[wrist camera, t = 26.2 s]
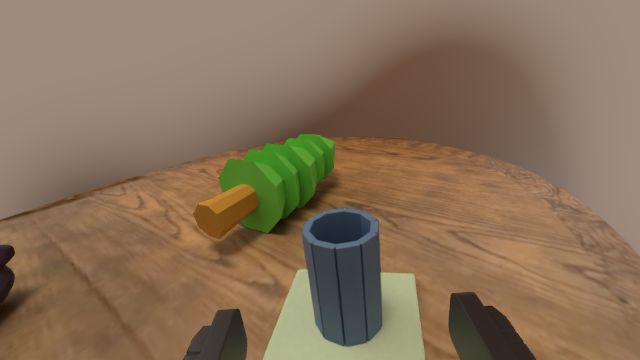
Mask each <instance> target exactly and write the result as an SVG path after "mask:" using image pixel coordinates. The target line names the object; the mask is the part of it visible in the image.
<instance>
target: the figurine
mask: <svg viewBox="0 0 640 360" xmlns="http://www.w3.org/2000/svg"><path fill="white" fill-rule="evenodd" d="M14 254H15V251H14V248H13V247H12V246H10V245H0V305H1V304H2V303H3V302H4V300H5V299H6V297H7V296H8V294H9V292H10V290H11V288H12V286H13V283H14V279H15V277H14V273H13V271H12V270H11V269H10V268H8V267H7V266H6V265H5V264H7V263H8V262H9V261H10V259H11V258H12V257H13V256H14Z"/></svg>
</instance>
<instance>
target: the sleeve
mask: <svg viewBox="0 0 640 360" xmlns="http://www.w3.org/2000/svg"><path fill="white" fill-rule="evenodd" d="M302 237H303V244H304V250H305V257H306V264H307V270H308V277H309V284H310V290H311V297H312V304H313V310H314V317H315V324H316V326H317V327H318V329H319V331H320V333H321V334H322V336H323V337H324V338H325V339H326V340H328V341H331V342H333V343H336V344H338V345H341V346H343V347H344V345H345V344H346V347H348V346H354V345H359V344H364V343H367V341H368V342H369V341H370V340H371V339H372V338H373V337H374V336H375V335H376V334H377V333H378V332H379V331H380V330H381V327H382V291H381V266H380V241H379V221H378V220H377V219H376V218H375V217H373V216H372V215H370V214H369V213H367V212H364V211H363V210H356V209H350V208H345V209H344V208H340V209H334V210H327V211H325V212H321V213H319V214H317V215H315V216H313V217H312V218H310V219H308V221H306V223H305V226H304V228H303V230H302Z"/></svg>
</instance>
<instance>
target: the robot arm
mask: <svg viewBox="0 0 640 360" xmlns="http://www.w3.org/2000/svg"><path fill="white" fill-rule="evenodd" d="M449 332H450V336H451V339H452V342H453V344H454V346H455V349H456V351H457V353H458V355H459V357H460V359H461V360H536V358H535V357H534V356H533V354H532V353H531V351H530V350H529V349H528V347H527V346H526V344H524V343H523V340H522V339H521V337H520V336H519V335H518V333H516V331H515V329H514V327H513V326H512V325H511V323H510V322H509V320H508V319H507V318H506V316H504V315H503V314H502V313H500V312H499V311H498V310H497V309H495V308H494V307H493V306H483V304H482V303H481V301H480V300H479V298H478V297H477V295H476V294H475V293H474V292H463V293H452V294H451V298H450V311H449ZM246 354H247V337H246V333H245V329H244V325H243V321H242V317H241V313H240V310H239V309H228V310H218V311H217V313H216V315H215V317H214V320H213V322H212V325H211V326H203V327H202V329H201V330H200V331H199V332H198V333H197V334H196V335H195V337H194V338H193V339H192V341H191V344H190V346H189V348H188V350H187V354H186V355H185V357H184V359H183V360H245V358H246Z"/></svg>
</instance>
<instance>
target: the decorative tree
mask: <svg viewBox="0 0 640 360" xmlns="http://www.w3.org/2000/svg"><path fill="white" fill-rule="evenodd" d="M334 154H335V141H332V140H330V139H327V138H324V137H322V136H319V135H312V134H300V136H299V137H298V139H292V138H288V139H287V141H286V142H285V144H284V145H278V144H266V145H265V147H264V148H263V150H251V149H250V150H249V151H248V153H247V155H246V157H245V158H244V160H235V159H229V160H228V161H227V163H226V165H225V167H224V169H223V171H222V173H221V175H220V177H219V180H220V184H221V188H222V192H223V193H221V194H219V195H217V196H215V197H213V198H211V199H209V200H206V201H204V202H202V203H200V204H198V206H197V208H196V210H195V211H194V213H193V215H194V217H195V219H196V221H197V223H198V226H199V228H200V229H202V230H203V231H204V232H205V233H207V234H208V235H209V236H211V237H214V238H217V239H220V238H221V237H222V236H223V235H225V234H226V233H227V232H228V231H230V230H231V229H232V228H233V227H235V226H236V225H237V224H238V223H240V222H241V223H242V224H243V225H244V226H245V227H247V228H250V229H254V230H258V231H261V232H265V233H268V232H269V231H270V230H271V229H272V228H273V227H274V226H275V224H276V223H277V222H278V221H279V220H280V219H281V218H283V219H286V218H287V217H288V215H289V214H290V213H291V212H292V211H293V210H294V209H295V208H296V207H298V208H302V207H303V206H304V205H305V204H306V203H307V202H308V201H309V199H310V198H311V197H312V196H313V195H314V193H315V187H316V184H317V183H318V182H319V181H320V180H321V179H324V178H325V177H326V176H327V175H328V174H329V173H330V172H331V171H332V169H333V168H334Z"/></svg>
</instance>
